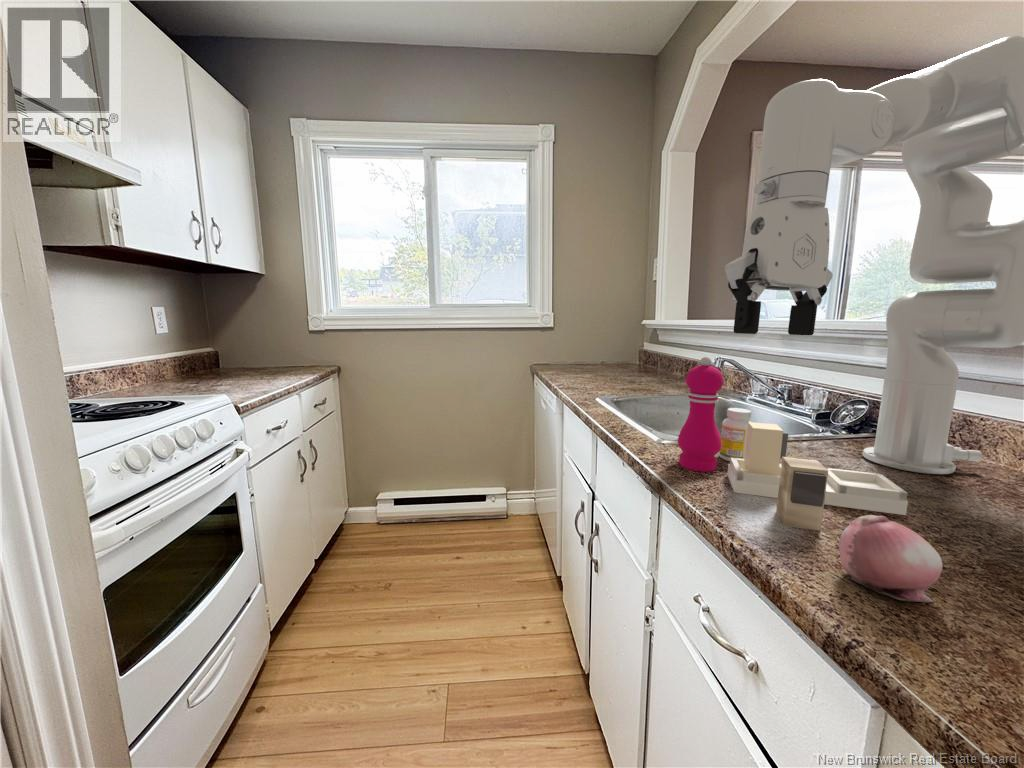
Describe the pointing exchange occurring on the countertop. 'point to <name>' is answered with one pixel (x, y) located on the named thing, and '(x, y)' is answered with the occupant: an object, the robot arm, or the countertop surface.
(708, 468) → the pepper mill
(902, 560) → the pink shallot
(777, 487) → the rail
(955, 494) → the countertop surface
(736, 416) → the supplement bottle
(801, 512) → the block
